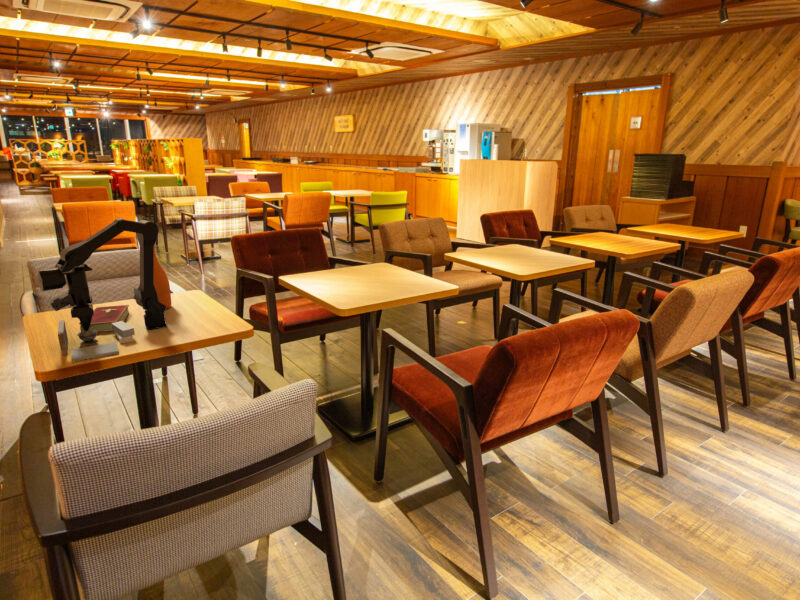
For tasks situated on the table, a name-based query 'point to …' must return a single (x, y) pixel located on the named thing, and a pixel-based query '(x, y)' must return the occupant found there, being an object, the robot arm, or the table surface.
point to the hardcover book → (108, 317)
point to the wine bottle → (161, 283)
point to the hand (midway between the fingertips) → (86, 329)
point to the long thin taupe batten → (63, 337)
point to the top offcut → (123, 328)
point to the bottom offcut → (124, 338)
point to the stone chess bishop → (87, 336)
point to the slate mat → (94, 351)
